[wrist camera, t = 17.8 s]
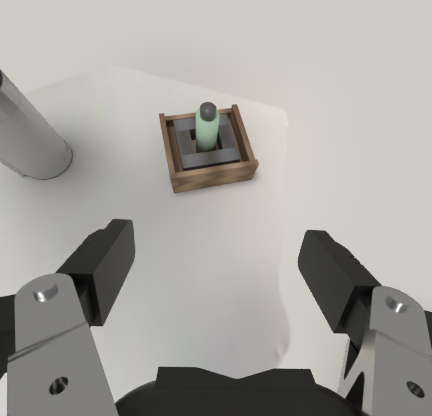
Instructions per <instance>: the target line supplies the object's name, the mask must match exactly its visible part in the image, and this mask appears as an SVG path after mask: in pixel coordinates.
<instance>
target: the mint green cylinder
mask: <svg viewBox="0 0 432 416" xmlns="http://www.w3.org/2000/svg"><path fill="white" fill-rule="evenodd" d="M219 118H220V114H219V112H218V110H217V109H216V106H215V105H214V104H213V103H210V102H205V103H203V104H202V105H201V106H200V108H199V109H198V110H197V112H196V153H202V152H209V151H215V148H216V141H217V133H218V126H219Z"/></svg>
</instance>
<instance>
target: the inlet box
mask: <svg viewBox="0 0 432 416" xmlns="http://www.w3.org/2000/svg"><path fill="white" fill-rule="evenodd" d="M218 112H219V114H220V118H219V126H218V133H217V141H216V148H215V151H209V152H202V153H196V113H190V114H182V115H174V116H166V117H165V116H164V113H163V114H159V118H160V123H161V129H162V134H163V140H164V145H165V151H166V156H167V162H168V167H169V173H170V179H171V183H172V187H173V191H174V193H177V192H183V191H188V190H194V189H200V188H205V187H211V186H217V185H222V184H228V183H234V182H239V181H245V180H251V179H252V177H253V175H254V173H255V171H256V169H257V167H258V165H259V164H258V161H257V160H255V158H254V155H253V152H252V149H251V146H250V143H249V140H248V137H247V134H246V131H245V128H244V125H243V122H242V119H241V116H240V113H239V110H238V106H237V104H236V105H232V108H230V109H222V110H218Z"/></svg>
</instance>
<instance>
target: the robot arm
mask: <svg viewBox="0 0 432 416" xmlns="http://www.w3.org/2000/svg"><path fill="white" fill-rule="evenodd" d="M71 159H72V152H71V149H70V147H69V146H68V145H67V144H66V142H65V141H64V140H63V139H62V138H61V137H60V136H59V135H58V133H57V132H56V131H55V130H54V129H53V128H52V127H51V125H50V124H49V123H48V122H47V121H46V120H45V119H44V118H43V116H42V115H41V114H40V113H39V112H38V111H37V110H36V109H35V108H34V106H33V105H32V104H31V103H30V102H29V101H28V100H27V99H26V97H25V96H24V95H23V94H22V93H21V92H20V91H19V90H18V88H17V87H16V86H15V85H14V84H13V83H12V82H11V81H10V80H9V78H8V77H7V76H6V75H5V74H4V73H3V72H2V71H1V70H0V162H1V163H3V164H4V165H6V166H7V167H9V168H10V169H12V170H14V171H15V172H17V173H18V174H20V175H21V176H24V175H28V176H30V177H32V178H36V179H49V178H52V177H55V176H57V175H59V174H61V173H62V172H63V171H64V170H65V169H66V168H67V167H68V166H69V164H70V162H71ZM134 257H135V242H134V230H133V222H132V220H125V219H113V220H112V221H111V222H110V223H109V224H108V226H107V227H106V228H105V229H99V230H97V231H96V232H94V233H92V234H91V235H89V236H88V237H87V238H86V239H85V240H84V241H83V243H82V244H81V245H80V246H79V247H78V248H77V250H76V251H74V253H73V254H72V255H71V256H70V257H69V258H68V259H67V260H66V261H65V263H64V264H63V265H62V266H61V267H60V268H59V269H58V270H57V271H56V273H55V274H48V275H44V276H41V277H38V278H36V279H34V280H32V281H30V282H29V283H27V284H26V285H24V286H23V287H22V288H21V289H20V290H19V291H18V292H17V294H15V295H10V296H4V297H0V379H1V378H2V376H3V375H4V373H6V372H7V416H432V312H429V311H425V310H423V308H422V307H421V306H420V304H419V303H418V302H416V301H415V300H414V299H413V298H411V297H410V296H408V295H407V294H405V293H403V292H401V291H399V290H397V289H394V288H391V287H386V286H382V285H381V284H380V283H379V282H378V281H377V280H376V279H375V278H374V277H373V276H372V275H371V274H370V273H369V271H368V270H367V269H366V268H365V267H364V266H363V265H361V264H360V262H359V261H358V260H357V259H356V258H354V256H353V255H352V254H351V252H350V251H349V250H348V249H347V248H345V247H343V246H342V245H340V244H339V243H337V242H335V241H334V240H333V239H332V238H331V236H330V235H329V234H328V233H327V232H326V231H320V230H307V231H306V233H305V236H304V239H303V243H302V246H301V249H300V253H299V257H298V267H299V270H300V272H301V274H302V276H303V278H304V280H305V281H306V283H307V285H308V287H309V289H310V291H311V292H312V294H313V296H314V298H315V300H316V302H317V304H318V305H319V307H320V309H321V311H322V313H323V315H324V316H325V318H326V320H327V322H328V324H329V326H330V327H331V329H332V331H333V333H345V334H348V336H349V340H348V342H347V345H346V350H345V356H344V361H343V366H342V371H341V377H340V382H339V387H338V391H337V393H335V392H334V391H332V390H330V389H328V388H326V387H323V386H321V385H319V384H316V383H315V381H314V378H313V375H312V373H311V370H310V369H271V370H268V371H264V372H261V373H258V374H254V375H251V376H247V377H244V378H240V379H234V378H230V377H227V376H224V375H220V374H217V373H214V372H211V371H207V370H204V369H201V368H197V367H158V373H157V378H156V381H152V382H149V383H147V384H144V385H142V386H140V387H138V388H136V389H134V390H132V391H131V392H129V393H127V394H126V395H125V396H123V397H122V398H120V399H119V400H118V401H117V402H116V403H114V400H113V397H112V394H111V391H110V388H109V385H108V382H107V379H106V376H105V373H104V370H103V367H102V364H101V361H100V358H99V355H98V352H97V349H96V346H95V343H94V339H93V336H92V333H91V330H90V327H91V326H103V325H104V323H105V321H106V319H107V317H108V314H109V312H110V310H111V308H112V306H113V304H114V302H115V300H116V298H117V295H118V293H119V291H120V289H121V287H122V285H123V283H124V281H125V279H126V276H127V274H128V272H129V270H130V268H131V266H132V264H133V261H134Z"/></svg>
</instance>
